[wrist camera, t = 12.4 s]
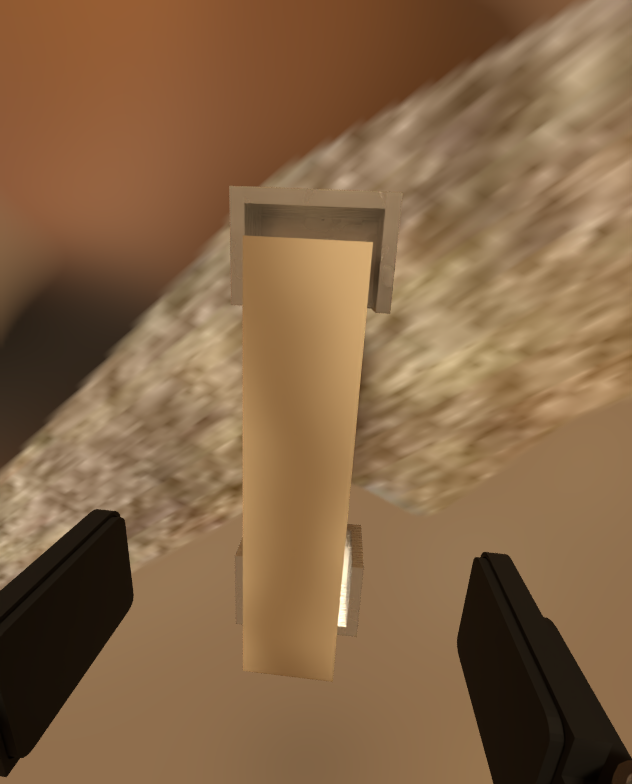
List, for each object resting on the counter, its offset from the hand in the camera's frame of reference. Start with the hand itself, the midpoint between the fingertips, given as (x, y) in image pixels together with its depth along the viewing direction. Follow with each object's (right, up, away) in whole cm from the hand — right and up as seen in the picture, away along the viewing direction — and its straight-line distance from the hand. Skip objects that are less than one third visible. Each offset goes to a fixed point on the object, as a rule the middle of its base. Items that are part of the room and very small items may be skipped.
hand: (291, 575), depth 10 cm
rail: (0, +3, +11) cm, 11 cm away
